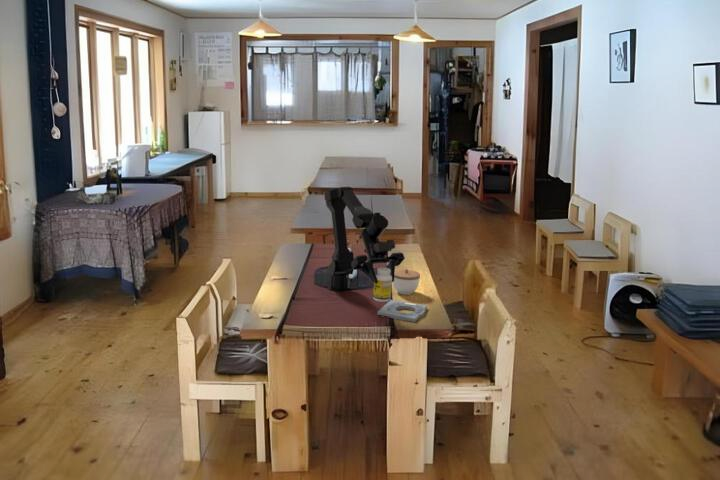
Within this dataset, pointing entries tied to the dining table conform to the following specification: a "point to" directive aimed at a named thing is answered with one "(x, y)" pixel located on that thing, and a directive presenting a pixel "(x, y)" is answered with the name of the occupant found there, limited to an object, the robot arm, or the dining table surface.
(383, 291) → the pill bottle
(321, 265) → the dining table surface
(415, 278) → the lidded jar
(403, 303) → the socket board
